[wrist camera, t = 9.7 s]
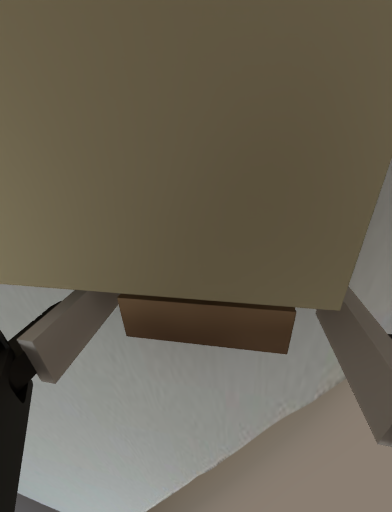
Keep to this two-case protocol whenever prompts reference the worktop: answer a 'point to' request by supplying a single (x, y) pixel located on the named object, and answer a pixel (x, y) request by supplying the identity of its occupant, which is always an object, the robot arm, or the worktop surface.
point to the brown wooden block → (208, 322)
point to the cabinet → (193, 145)
